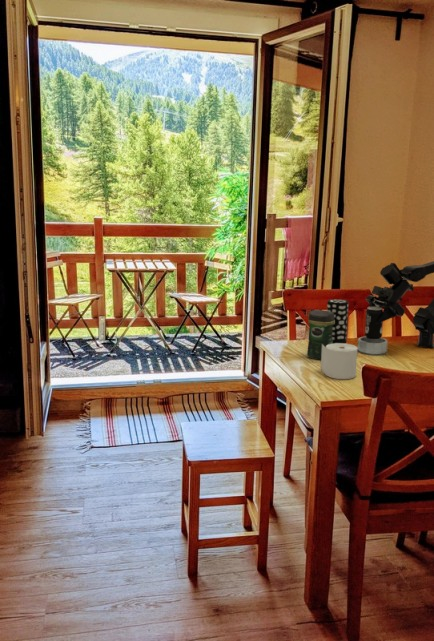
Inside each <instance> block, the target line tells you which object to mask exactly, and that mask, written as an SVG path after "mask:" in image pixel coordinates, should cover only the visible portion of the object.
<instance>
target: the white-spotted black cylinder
mask: <svg viewBox="0 0 434 641" xmlns="http://www.w3.org/2000/svg"><path fill="white" fill-rule="evenodd" d="M326 304H327V306H326V311H331V312H333V313H334V319H335V322H334V325H333V329H332V339H333V344H334V343H343V344H347V342H348V341H347V340H348V338H347V336H348V318H349V301H348V300H345V299H339V298H336V299H335V298H334V299H328V300H327V301H326Z"/></svg>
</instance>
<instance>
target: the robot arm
mask: <svg viewBox="0 0 434 641" xmlns="http://www.w3.org/2000/svg"><path fill="white" fill-rule="evenodd" d="M379 272H380V274H379V275H380V276H381V277H383V279H384V280H385V282H386V283H387V284H388V285H391V286H390V287H389V286H384V287H381V286H377V285H374V286H373V287H372V290H371V294H372V295H371V294H369V295H368V296H366V298H365V300H366V302H367V303H368V304H369V307H381V308H383V312H382V314H381V315H380V316H379V318H378V319H377V321H376V323H377V324H379V323H381V322H383V323H384V322H385V321H388V320H390V319H393V318H397V317H403V316H404V315H405V313H406V312H405V311H406V310H405V309H404V307H403V306H402V305H401V304H400V303H399V302H402V301H403V296H404V295H405V294H406V292H407V291H409V292H410V291H411V292H413V291H414V284H413V283H410V282H414V283H416V282H417V283H418V282H420V281H421V280H424V279H425V278H426V276H428V275H432V274H434V260H433V261H430V262H426V263H424V264H420V265H419V264H418V265H417V264H416V265H415V264H413V265H406V266H404V267H403V268H402V269H400V268H399V267H398V265H397V263H396V262H395V263H394V262H390V264H387V265H385V266H384V267H382V268H381V270H380V271H379ZM413 315H414V316H413V318H412V322H413V326H414V328H415V329H414V330H417V331H419V332H418V342H417V344H416V347H418V348H419V347H420V348H429V349H434V298H433V299H432V300H431V301H430V303H429V304H428V305H427V306H426V307H422V306H421V307H419V308H418V310H417V311H416V312H415V313H414V314H413ZM365 320H366V317H365Z"/></svg>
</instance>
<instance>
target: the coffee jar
mask: <svg viewBox="0 0 434 641" xmlns="http://www.w3.org/2000/svg"><path fill="white" fill-rule="evenodd" d="M334 322H335V319H334V313H333V312H331V311H327V310H325V309H324V310H322V309H313V310H310V311H309V313H308V324H309V333H308V343H307V354H306V355H307V357H308V358H310V359H314V360H320V361H321V353H322V344H323V345H324V346H325V347H326V346H327V345H329V344H333V339H332V329H333V325H334Z"/></svg>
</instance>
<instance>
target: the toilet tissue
mask: <svg viewBox="0 0 434 641" xmlns="http://www.w3.org/2000/svg"><path fill="white" fill-rule="evenodd" d="M357 348H358V346H356V345H354V344H350V343H346V344H343V343H334V344H329V345H327V346H326V347H325V346H324V345H323V344H322V353H321V360H320V369H321V370H320V371H322V373H323V374H324V375H325V376H327V377H328V378H329V377H330V378H332V379H335V380H348V379H349V380H350V379H354V378H355V377H356V376H357V361H358V351H357V350H358V349H357Z"/></svg>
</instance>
